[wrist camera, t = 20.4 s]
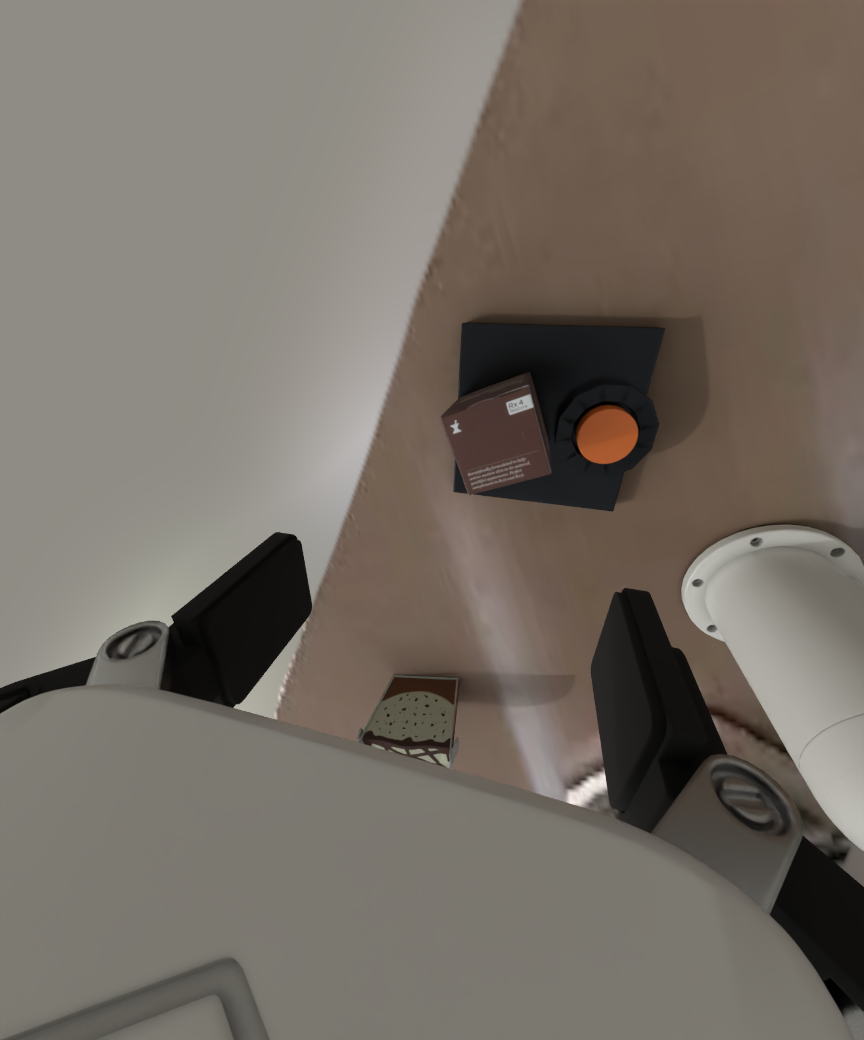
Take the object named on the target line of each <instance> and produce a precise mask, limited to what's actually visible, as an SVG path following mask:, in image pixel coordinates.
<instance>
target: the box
mask: <svg viewBox="0 0 864 1040" xmlns="http://www.w3.org/2000/svg"><path fill="white" fill-rule="evenodd" d="M440 419H441V421H442V424H443V426H444V429H445V432H446V435H447V437H448V440H449V443H450V446H451V448H452V451H453V454H454V457H455V460H456V462H457V464H458V467H459V470H460V473H461V476H462V478H463V481H464V484H465V487H466V489H467V492H468V495H471V494H476V493H480V492H484V491H488V490H492V489H496V488H500V487H504V486H507V485H511V484H515V483H519V482H523V481H526V480H531V479H535V478H538V477H542V476H546V475H549V474H551V460H550V446H549V440H548V436H547V431H546V428H545V424H544V420H543V416H542V412H541V408H540V405H539V401H538V398H537V394H536V391H535V387H534V384H533V380H532V376H531V374H530V373H529V372H528V373H524V374H522V375H519V376H516V377H514V378H511V379H508V380H505V381H502V382H499V383H497V384H494V385H491V386H489V387H486V388H483V389H480V390H478V391H475V392H473V393H470V394H467V395H464V396H462V397H460V398H459V399H458V400H457V401H456V402H455V403H454V404H453V405H452V406H451V407H450V408H449V409H448V410H447V411H446V412H445V413H444V414H443V415H442V416H441V417H440Z"/></svg>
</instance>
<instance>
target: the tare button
mask: <svg viewBox="0 0 864 1040" xmlns="http://www.w3.org/2000/svg"><path fill="white" fill-rule="evenodd" d="M637 438H638V427H637V424H636V422H635V420H634V419H633V417H632V416H631V415H630V414H629V413H628V412H627V411H626V410H624V409H623V408H621V407H619V406H615V405H602V406H598V407H595V408H593V409H591V410H590V411H588V412H587V413H586V414H585V415H584V416H583V417H582V418H581V420H580V421H579V423H578V426H577V429H576V441H577V444H578V447H579V450H580V452H581V453H582V455H583V456H584V457H585V458H587V459H588V460H590V461H592V462H595V463H599V464H608V463H613V462H616V461H618V460H620V459H622V458H624V457H625V456H626V455H628V454H629V453H630V452H631V450H632V449H633V448H634V446H635V444H636V442H637Z"/></svg>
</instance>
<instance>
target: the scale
mask: <svg viewBox="0 0 864 1040" xmlns="http://www.w3.org/2000/svg"><path fill="white" fill-rule="evenodd" d="M664 331H665V328H657V327H618V326H579V325H540V324H501V323H462V332H461V351H460V371H459V390H458V399H459V398H460V397H462V396H464V395H467V394H470V393H473V392H475V391H478V390H480V389H483V388H486V387H489V386H491V385H494V384H497V383H499V382H502V381H505V380H508V379H511V378H514V377H516V376H519V375H522V374H524V373H528V372H529V373H530V374H531V376H532V380H533V384H534V387H535V391H536V394H537V398H538V401H539V405H540V408H541V412H542V416H543V420H544V424H545V428H546V431H547V436H548V440H549V446H550V460H551V474H549V475H546V476H542V477H538V478H535V479H531V480H526V481H523V482H519V483H515V484H511V485H507V486H504V487H500V488H496V489H492V490H488V491H484V492H480V493H476V494H475V495H483V496H492V497H500V498H508V499H516V500H524V501H533V502H541V503H549V504H557V505H565V506H574V507H582V508H590V509H598V510H606V511H613V510H614V507H615V503H616V500H617V496H618V492H619V489H620V485H621V482H622V478H623V475H624V471H627V470H630V469H632V468H633V467H634V466H635V465H636V464H637V463H638V462H639V461H640V460H641V459H642V458H643V457H644V456H645V455H646V454H647V453H648V452H649V451H650V450H651V448H652V446H653V442H654V439H655V436H656V433H657V430H658V426H659V422H658V419H657V415H656V412H655V409H654V406H653V402H652V401H651V399H649V398H648V397H646V394H647V391H648V387H649V383H650V380H651V376H652V373H653V369H654V366H655V362H656V359H657V355H658V352H659V348H660V345H661V341H662V338H663V334H664ZM602 405H615V406H619V407H621V408H623V409H624V410H626V411H627V412H628V413H629V414H630V415H631V416H632V417H633V419H634V420H635V422H636V424H637V427H638V438H637V442H636V444H635V446H634V448H633V449H632V450H631V452H630V453H629V454H628V455H626V456H625V457H624V458H622V459H620V460H618V461H616V462H613V463H608V464H599V463H595V462H592V461H590V460H588V459H587V458H585V457H584V456H583V455H582V453H581V452H580V450H579V447H578V444H577V441H576V429H577V426H578V423H579V421H580V420H581V418H582V417H583V416H584V415H585V414H586V413H587V412H588V411H590V410H591V409H593V408H595V407H598V406H602ZM453 492H459V493H467V494H468V492H467V489H466V487H465V484H464V481H463V478H462V476H461V473H460V470H459V467H458V464H457V462H456V460H455V467H454V487H453Z"/></svg>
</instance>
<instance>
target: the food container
mask: <svg viewBox="0 0 864 1040" xmlns="http://www.w3.org/2000/svg"><path fill="white" fill-rule="evenodd" d="M458 694H459V678H450V677H427V676H405V675H393V677H392V678H391V680H390V682H389V684H388V686H387V688H386V690H385V692H384V693H383V695H382V697H381V699H380V701H379V703H378V705H377V707H376V709H375V710H374V712H373V714H372V716H371V718H370V720H369V722H368V724H367V725H366V727H365V729H364V731H363V730H362V728H360V730H359V734H358V738H357V739H358V743H361V744H365V745H369V746H372V747H376V748H379V749H383V750H386V751H390V752H394V753H397V754H401V755H404V756H408V757H411V758H415V759H418V760H422V761H425V762H429V763H432V764H436V765H439V766H443V767H446V768H450V767H451V765H452V764H453V762H454V759H455V757H456V754H457V752H458V749H459V740H458V737H457V738H456V740H455V743H454V733H455V723H456V713H457V704H458ZM453 743H454V745H453Z"/></svg>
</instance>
